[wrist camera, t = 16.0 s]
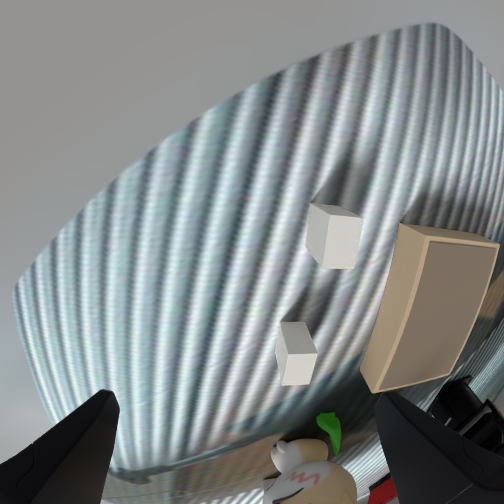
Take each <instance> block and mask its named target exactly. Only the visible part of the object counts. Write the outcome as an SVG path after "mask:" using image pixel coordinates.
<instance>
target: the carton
mask: <svg viewBox="0 0 504 504" xmlns="http://www.w3.org/2000/svg"><path fill="white" fill-rule="evenodd" d="M499 246H500V244H498V243H496V242H493V241H491V240H489V239H487V238H485V237H482V236H480V235H478V234H476V233H469V232H463V231H456V230H449V229H442V228H435V227H427V226H420V225H412V224H404V223H399V229H398V234H397V239H396V245H395V249H394V254H393V259H392V263H391V268H390V272H389V276H388V280H387V284H386V288H385V292H384V295H383V299H382V302H381V306H380V309H379V313H378V316H377V319H376V323H375V326H374V329H373V332H372V335H371V338H370V341H369V344H368V347H367V350H366V352H365V355H364V358H363V361H362V363H361V366H360V369H359V370H360V371H361V373H362V375H363V377H364V379H365V381H366V383H367V385H368V387H369V388H370V390H371V392H372V393H377V392H382V391H388V390H392V389H397V388H401V387H406V386H410V385H414V384H418V383H422V382H426V381H429V380H433V379H436V378H440V377H443V376H446V375H449V374H450V373H451V371H452V369H453V367H454V365H455V363H456V361H457V359H458V357H459V355H460V353H461V351H462V349H463V347H464V345H465V343H466V341H467V339H468V337H469V334H470V332H471V330H472V328H473V325H474V323H475V320H476V318H477V316H478V313H479V310H480V308H481V305H482V302H483V300H484V297H485V294H486V291H487V288H488V285H489V282H490V279H491V276H492V272H493V269H494V265H495V262H496V258H497V254H498V250H499Z"/></svg>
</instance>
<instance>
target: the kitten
mask: <svg viewBox="0 0 504 504" xmlns="http://www.w3.org/2000/svg"><path fill="white" fill-rule="evenodd" d="M316 420H317V424H318V425H319V427H321V428H322V429H323V430H325V431H327V432H328V433H329V434H330V440H331V443H332V447H333V450H334V453H335V455H336V456H337V457H338V453H339V449H340V443H341V441H340V439H341V429H340V421H339V419H338V417H335V412H332V413H321V414H319V415H318V416H317V417H316ZM271 457H272V461H273V462H274V464H275V466H276V468H277V469H278V470H279V471H280V472H281V473H282V474H281V475H280V476H278V477H277V478H276V479H275V480H274V481H273V482H272V483H271V484H270V485H269V486H268V487H267V489H266V490H265V493H264V496H263V504H356V503H357V488H356V483H355V481H354V478H353V477H352V475H351V474H350V473H349V472H348V471H347V470H346V469H344V468H343V467H341V466H339V465H338V464H335V463H333V462H329V461H327V457H328V447H327V445H326V443H325V442H323V441H322V440H319V439H309V438H306V439H297V440H294V441H291V442H289V443H287V442H285V441H278V442H277V447H273V448H272V450H271Z"/></svg>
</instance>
